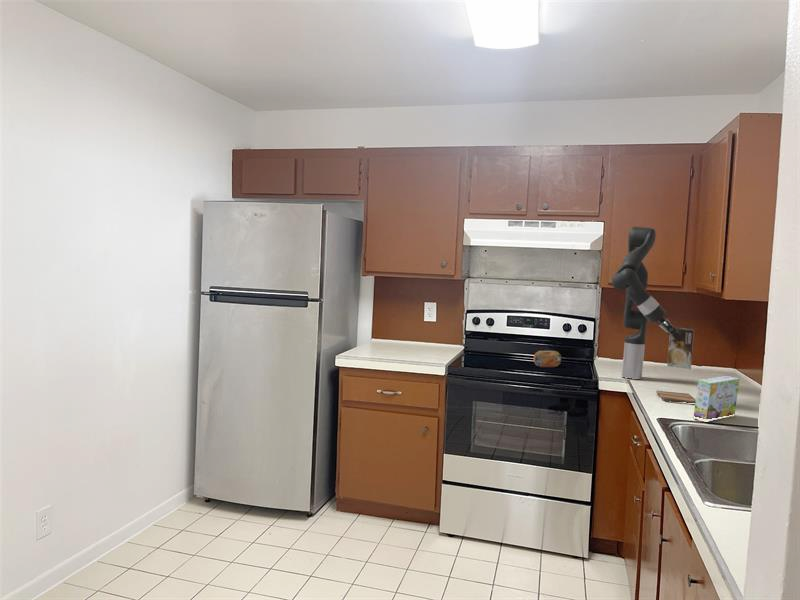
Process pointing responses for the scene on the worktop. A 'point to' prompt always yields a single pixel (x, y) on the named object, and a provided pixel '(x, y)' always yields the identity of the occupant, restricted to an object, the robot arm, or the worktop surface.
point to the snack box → (716, 397)
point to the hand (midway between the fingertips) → (677, 339)
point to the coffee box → (681, 349)
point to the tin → (547, 358)
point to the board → (675, 397)
